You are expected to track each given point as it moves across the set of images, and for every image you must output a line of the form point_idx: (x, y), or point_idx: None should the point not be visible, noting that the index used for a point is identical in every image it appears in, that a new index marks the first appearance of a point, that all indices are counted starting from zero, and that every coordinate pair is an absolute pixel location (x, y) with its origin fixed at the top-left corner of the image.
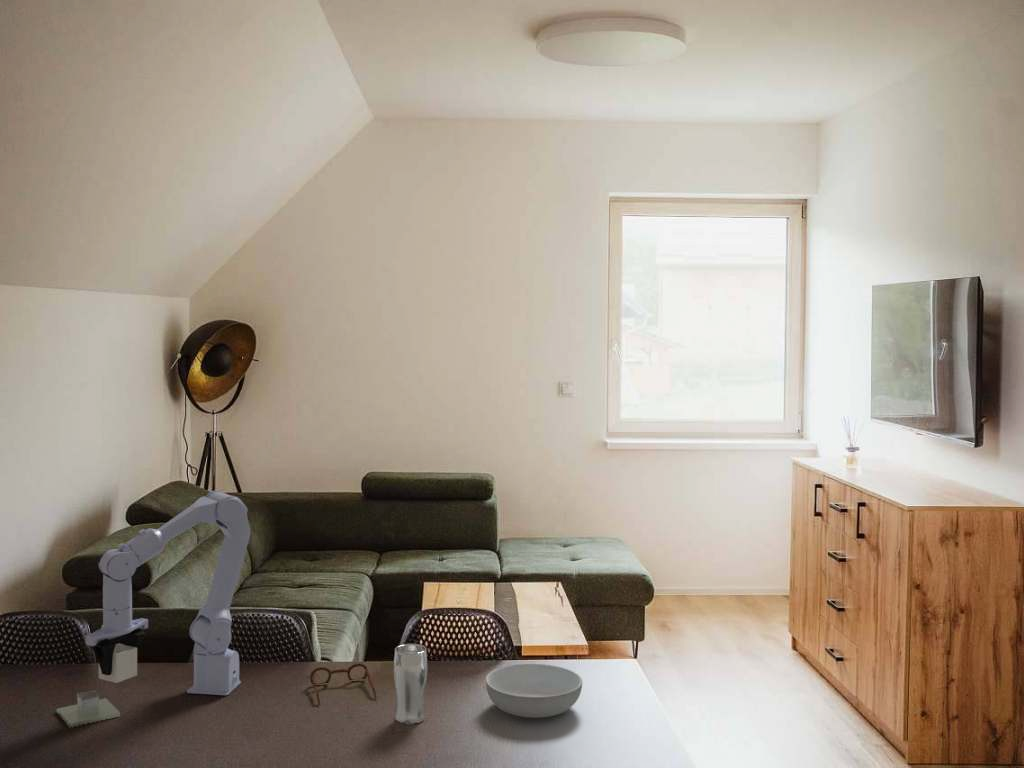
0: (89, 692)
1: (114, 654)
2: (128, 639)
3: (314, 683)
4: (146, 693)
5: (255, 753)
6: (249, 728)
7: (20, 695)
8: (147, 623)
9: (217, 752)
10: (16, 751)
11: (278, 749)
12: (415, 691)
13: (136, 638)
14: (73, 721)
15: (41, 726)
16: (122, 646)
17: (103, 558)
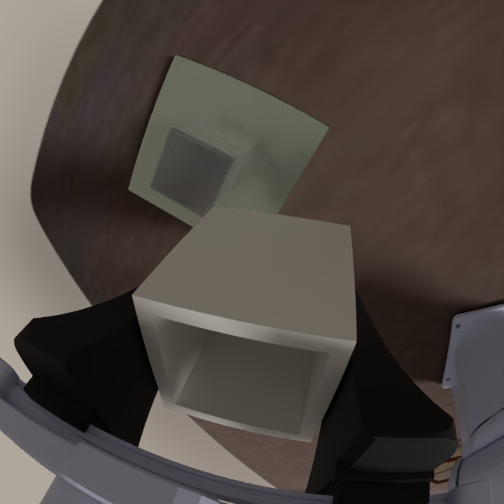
0: (204, 162)
1: (162, 399)
2: (331, 443)
3: (450, 461)
4: (441, 208)
5: (245, 454)
6: (308, 444)
7: None
8: None
9: (223, 433)
10: (39, 185)
11: (266, 464)
12: None
13: (308, 487)
14: (142, 184)
15: (106, 112)
16: (321, 372)
17: None
